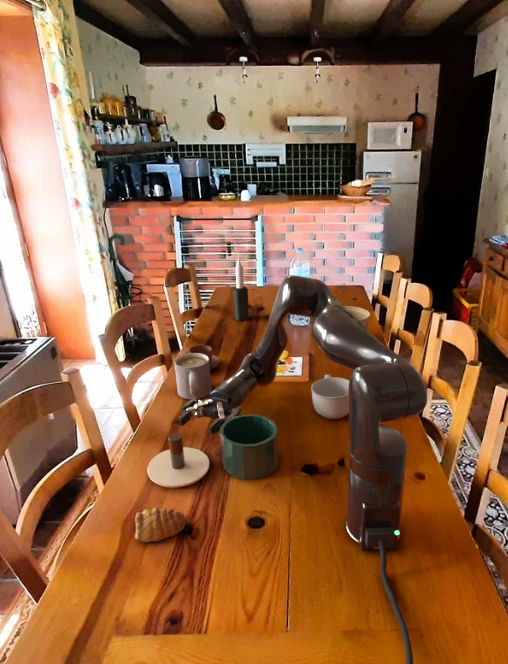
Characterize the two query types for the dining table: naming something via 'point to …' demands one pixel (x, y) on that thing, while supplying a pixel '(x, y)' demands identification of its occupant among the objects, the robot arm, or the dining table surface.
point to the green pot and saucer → (206, 351)
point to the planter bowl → (359, 314)
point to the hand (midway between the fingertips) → (195, 426)
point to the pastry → (158, 524)
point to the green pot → (249, 446)
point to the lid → (178, 464)
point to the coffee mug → (193, 375)
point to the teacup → (331, 397)
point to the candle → (240, 295)
